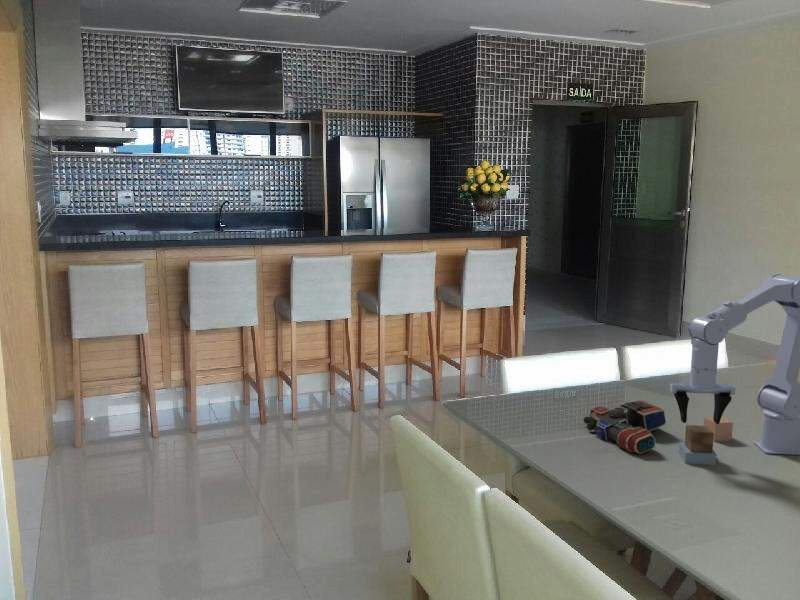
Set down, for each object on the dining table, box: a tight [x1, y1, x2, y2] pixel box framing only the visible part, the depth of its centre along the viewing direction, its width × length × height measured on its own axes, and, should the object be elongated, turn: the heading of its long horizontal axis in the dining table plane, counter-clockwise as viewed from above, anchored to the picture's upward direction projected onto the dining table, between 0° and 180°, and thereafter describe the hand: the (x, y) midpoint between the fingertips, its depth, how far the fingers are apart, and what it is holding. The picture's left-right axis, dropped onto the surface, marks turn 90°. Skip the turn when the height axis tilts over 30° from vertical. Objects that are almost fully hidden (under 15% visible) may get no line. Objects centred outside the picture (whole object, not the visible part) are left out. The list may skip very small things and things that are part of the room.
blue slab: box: [678, 442, 718, 466], centre depth 173 cm, size 7×7×3 cm
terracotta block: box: [703, 416, 734, 442], centre depth 188 cm, size 5×5×5 cm
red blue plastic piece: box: [583, 399, 667, 454], centre depth 188 cm, size 8×25×20 cm
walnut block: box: [684, 424, 714, 453], centre depth 172 cm, size 5×5×5 cm
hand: (699, 422), depth 172 cm, fingers open, 7 cm apart
